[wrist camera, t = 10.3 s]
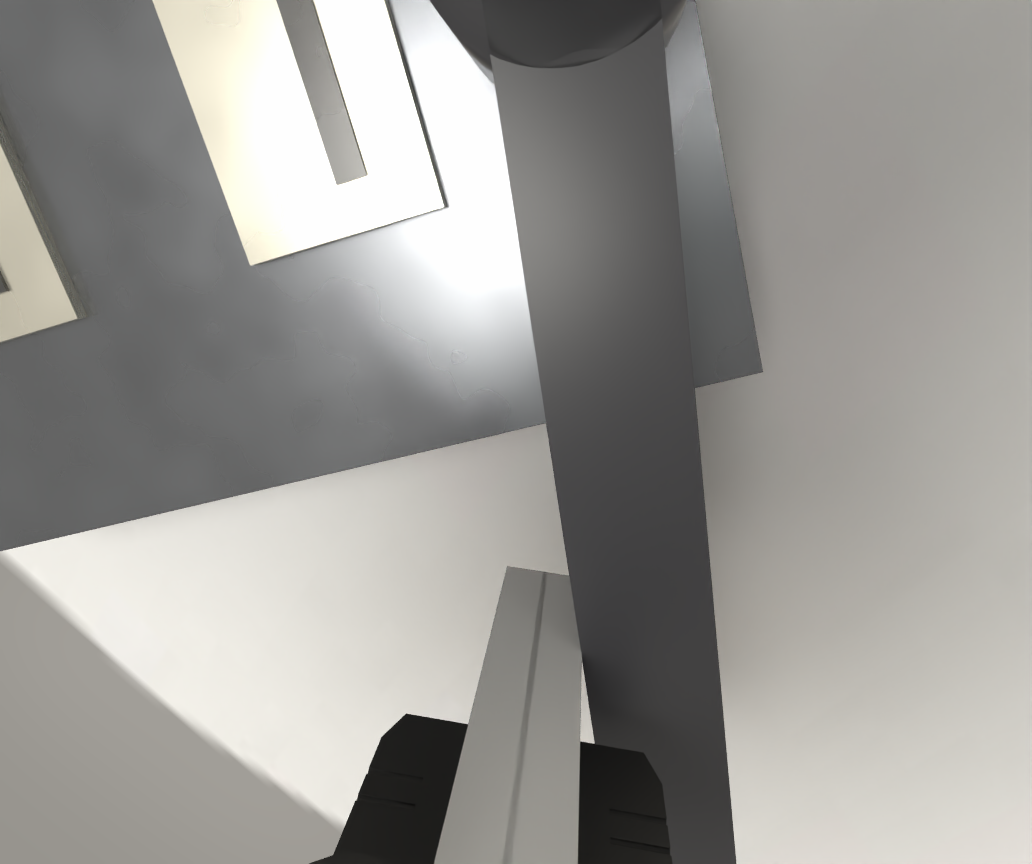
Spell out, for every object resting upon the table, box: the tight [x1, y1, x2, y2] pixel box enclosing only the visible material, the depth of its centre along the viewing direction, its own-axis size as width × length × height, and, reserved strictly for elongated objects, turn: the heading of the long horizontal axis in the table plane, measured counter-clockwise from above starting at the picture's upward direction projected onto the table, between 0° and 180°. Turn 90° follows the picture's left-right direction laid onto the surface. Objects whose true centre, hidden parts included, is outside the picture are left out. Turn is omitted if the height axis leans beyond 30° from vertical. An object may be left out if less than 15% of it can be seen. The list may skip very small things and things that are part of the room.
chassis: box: [0, 0, 763, 551], centre depth 15 cm, size 14×21×7 cm, turn 106°
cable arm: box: [430, 0, 736, 864], centre depth 11 cm, size 4×20×3 cm, turn 9°
